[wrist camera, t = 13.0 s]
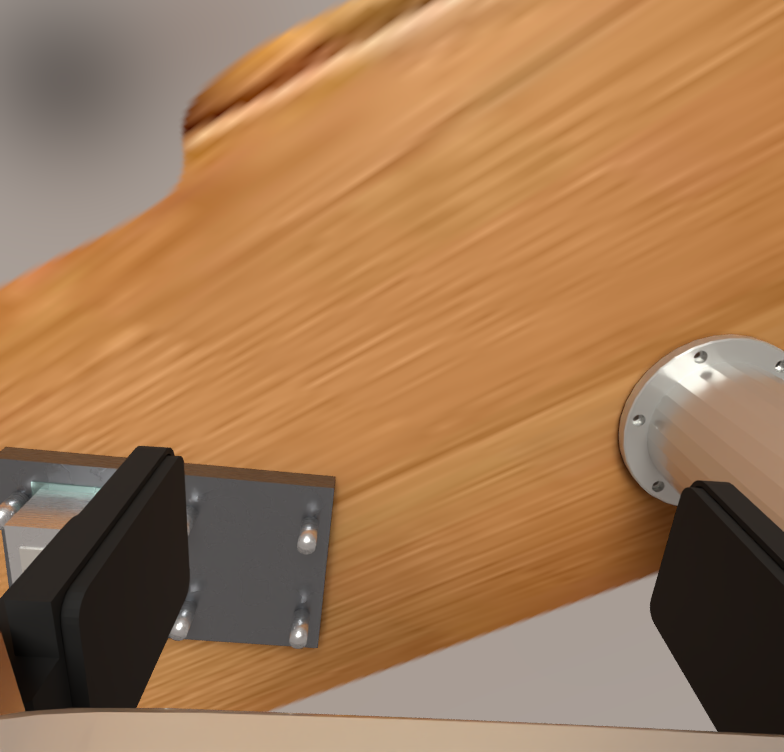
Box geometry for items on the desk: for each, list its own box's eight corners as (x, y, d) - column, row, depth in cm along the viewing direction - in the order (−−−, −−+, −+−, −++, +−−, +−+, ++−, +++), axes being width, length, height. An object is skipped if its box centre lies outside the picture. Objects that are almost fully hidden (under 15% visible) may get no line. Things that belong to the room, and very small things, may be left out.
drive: (125, 495, 39) (98, 533, 35) (132, 614, 42) (108, 660, 38) (39, 489, 38) (3, 526, 34) (53, 609, 42) (22, 655, 38)
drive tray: (335, 476, 41) (332, 509, 37) (319, 632, 45) (314, 675, 42) (5, 447, 39) (-33, 478, 35) (25, 612, 44) (-7, 655, 40)
